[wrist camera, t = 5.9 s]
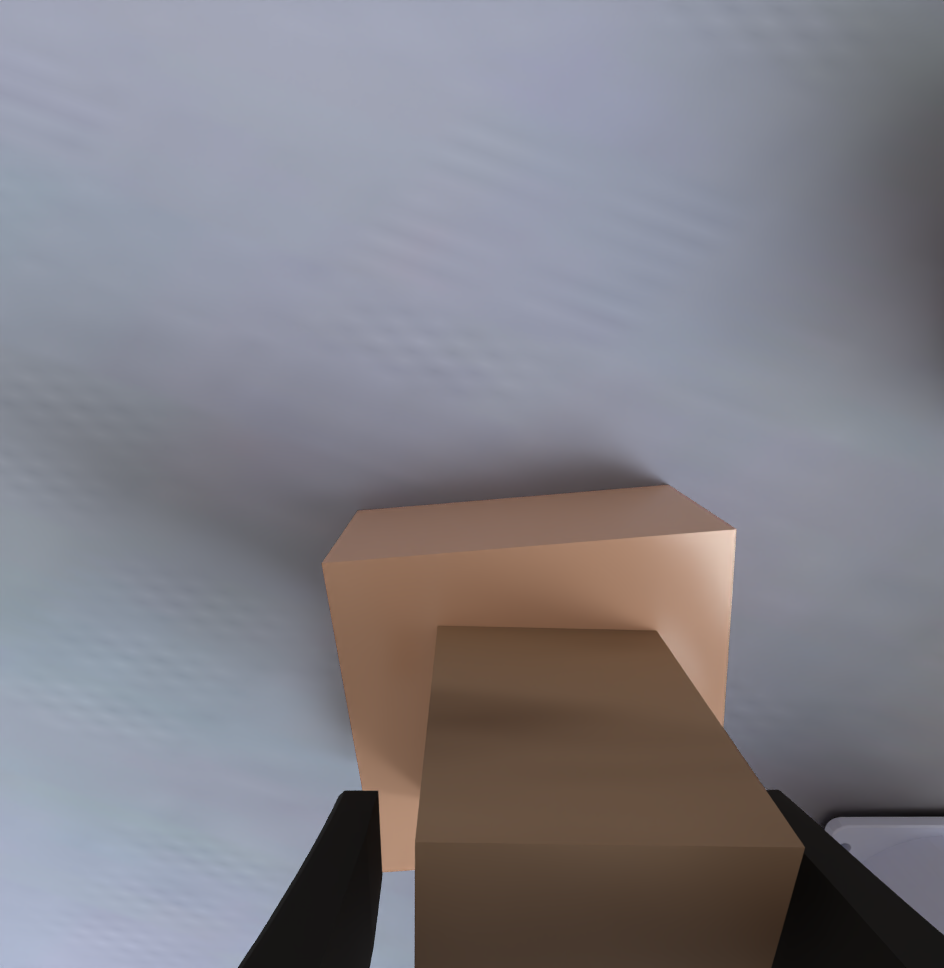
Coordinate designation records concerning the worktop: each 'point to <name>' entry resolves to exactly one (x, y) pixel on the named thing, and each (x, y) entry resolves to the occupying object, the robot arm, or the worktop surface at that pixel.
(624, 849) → the walnut cube
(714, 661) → the terracotta block
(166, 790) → the worktop surface
